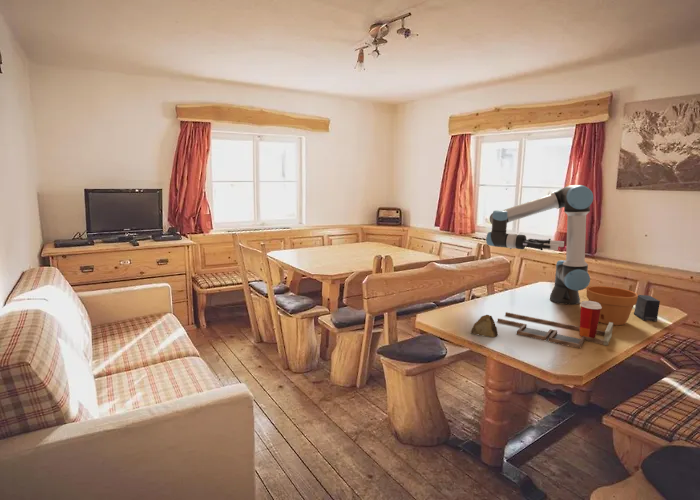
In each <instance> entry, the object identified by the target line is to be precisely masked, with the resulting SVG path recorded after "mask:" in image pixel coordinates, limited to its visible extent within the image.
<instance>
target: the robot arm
mask: <svg viewBox="0 0 700 500" xmlns="http://www.w3.org/2000/svg"><path fill="white" fill-rule="evenodd" d="M593 201H594V193H593V191H592V190H591V189H590V188H589V187H587V186H586V185H582V184H570V185H567V186H565V187H562V188H560V189H557V190H554V191H552V192H551V193H550V194H549V195H545V196H542V197H540V198H536V199H533V200H530V201H527V202H524V203H521V204H517V205H513V206H511V207H509V208H506V209H499V210H498V209H497V210H493V212H492V213H491V214H490V215H489V222H490V224H491V231H489V232H488V233H487V234H486V238H485V242H486V244H487V246H491V247H496V248H509V250H512V249H516V250H525V248H531V249H536V250H540V251H543V250H550V251H559V247H560V248H564V247H565V241H562V240H551V238H548V239H543V238H542V239H539V238H538V239H537V238H528V239H527V236H526V235H525V234H516V233H507V227H508V223H510V222H514V221H517V220H520V219H524V218H527V217H529V216H534V215H537V214H539V213H543V212H546V211H548V210H552V209H557V210H560V209H562V208H563V209H564V210H563V211H564V213H565V214H566V215H567V217H566V220H567V221H566V223H567V224H566V248H565V249H566V252H565V253H566V255H565V260H562V259H560V260H558V261H557V262H556V265H555V276H554V285H553V286H554V287H553V288H552V291H551V293H550V296H549V300H550V301H552V302H555V303H557V304H563V305H578V304H579V305H580V304H581V297H580V293H579V291H583V290H585V289H587V288H588V286H590V283H591V278H590V274H589V272H588V270H589V269H588V268H589V264H588V262H586V261H585V259H586V235H587V234H586V233H587V230H586V229H587V215H588V214H589V213H590V212H591V205H592V203H593Z"/></svg>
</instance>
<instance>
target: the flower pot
mask: <svg viewBox="0 0 700 500" xmlns="http://www.w3.org/2000/svg"><path fill="white" fill-rule="evenodd" d="M638 295H639V294H638V293H637V292H635V291H632V290H628V289H626V288H621V287H613V286H604V285H602V286H601V285H594V286H593V285H592V286H589V287H588V286H587V287H586V298H587V300H588V301H594V302H597V303H599V304H600V305H601V307H602V308H601V310H600V315H599V321H598V323H600V324H604V325H608V324H609V322H611V323H613V326H623V325H626V323H627V322H628V320H629V318H630V315H631V313H632V311H633V308H634V307H635V305H636V302H637V298H638Z"/></svg>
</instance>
